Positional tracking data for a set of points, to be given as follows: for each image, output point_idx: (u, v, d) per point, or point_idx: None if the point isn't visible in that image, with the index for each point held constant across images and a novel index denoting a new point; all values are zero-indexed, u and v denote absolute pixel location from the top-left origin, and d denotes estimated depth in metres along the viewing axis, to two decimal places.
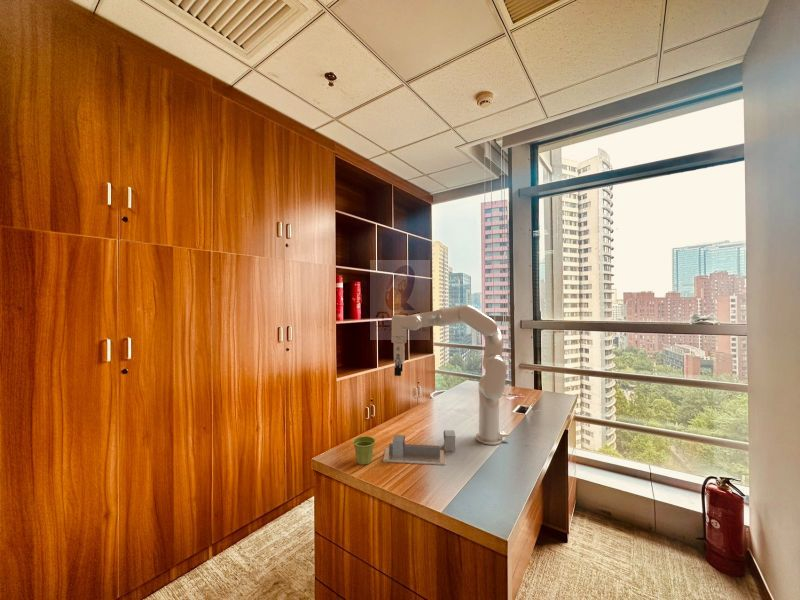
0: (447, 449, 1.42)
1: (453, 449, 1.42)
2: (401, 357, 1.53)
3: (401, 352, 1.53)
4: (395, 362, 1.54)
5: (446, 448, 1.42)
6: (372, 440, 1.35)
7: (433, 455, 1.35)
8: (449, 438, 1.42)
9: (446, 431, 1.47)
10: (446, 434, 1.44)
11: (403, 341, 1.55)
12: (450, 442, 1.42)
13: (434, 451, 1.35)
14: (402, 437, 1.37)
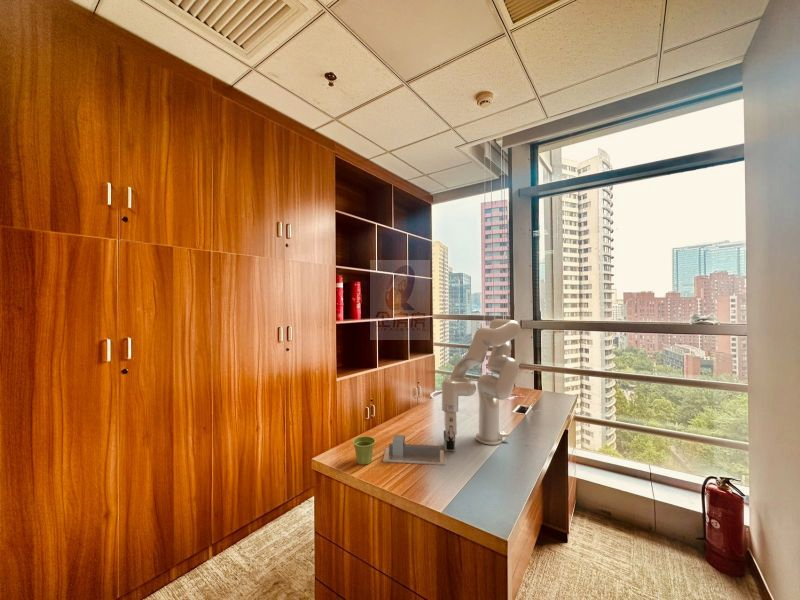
0: None
1: None
2: (454, 429, 1.40)
3: (454, 423, 1.40)
4: (447, 435, 1.41)
5: (446, 448, 1.42)
6: (372, 440, 1.35)
7: (433, 455, 1.35)
8: None
9: None
10: (446, 434, 1.44)
11: (456, 410, 1.42)
12: None
13: (434, 451, 1.35)
14: (402, 437, 1.37)
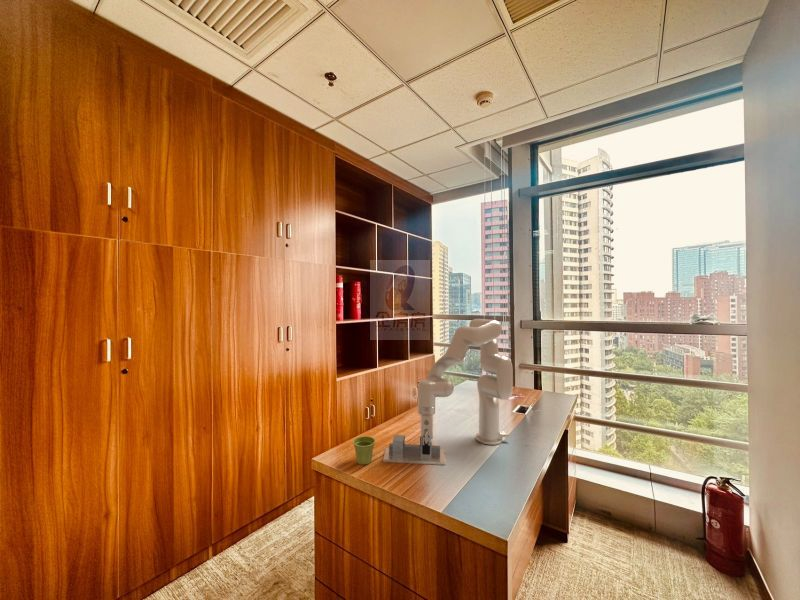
0: (423, 456, 1.33)
1: (429, 456, 1.33)
2: (430, 432, 1.31)
3: (430, 427, 1.31)
4: (423, 438, 1.32)
5: (422, 455, 1.33)
6: (372, 440, 1.35)
7: (433, 455, 1.35)
8: None
9: None
10: (422, 440, 1.34)
11: (432, 413, 1.33)
12: None
13: (434, 451, 1.35)
14: (402, 437, 1.37)
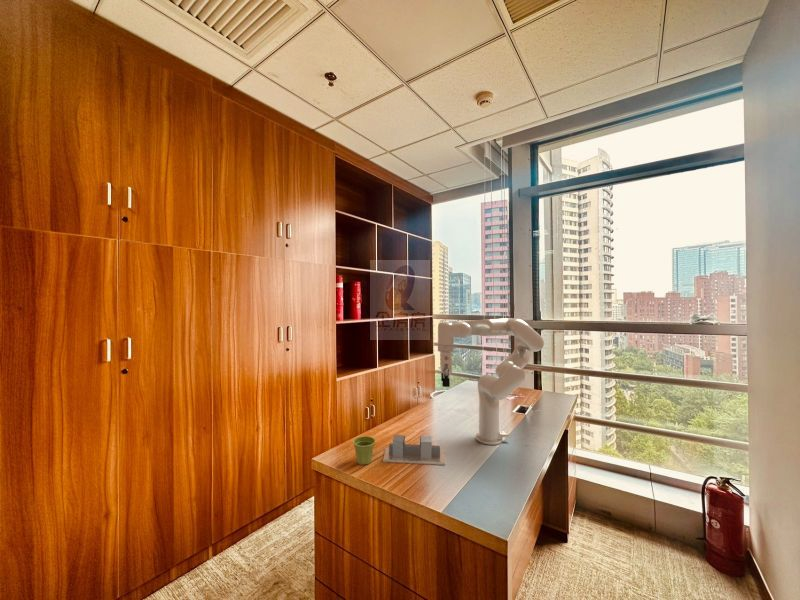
0: (423, 456, 1.33)
1: (429, 456, 1.33)
2: (449, 367, 1.45)
3: (449, 362, 1.46)
4: (443, 372, 1.46)
5: (422, 455, 1.33)
6: (372, 440, 1.35)
7: (433, 455, 1.35)
8: (425, 445, 1.33)
9: (422, 437, 1.38)
10: (422, 440, 1.34)
11: (451, 350, 1.48)
12: (426, 449, 1.33)
13: (434, 451, 1.35)
14: (402, 437, 1.37)
